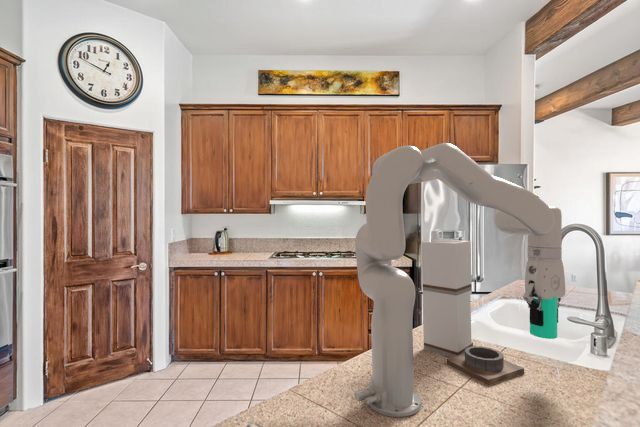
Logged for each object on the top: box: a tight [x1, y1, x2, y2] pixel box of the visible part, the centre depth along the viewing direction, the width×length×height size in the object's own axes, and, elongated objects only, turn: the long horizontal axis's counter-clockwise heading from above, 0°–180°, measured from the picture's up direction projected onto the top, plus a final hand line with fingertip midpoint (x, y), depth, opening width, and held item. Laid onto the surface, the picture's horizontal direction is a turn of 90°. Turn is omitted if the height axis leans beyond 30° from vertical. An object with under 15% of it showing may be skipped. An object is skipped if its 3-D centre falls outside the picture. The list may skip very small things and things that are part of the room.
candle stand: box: [446, 345, 525, 386], centre depth 95 cm, size 14×14×4 cm
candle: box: [529, 295, 558, 340], centre depth 88 cm, size 6×6×12 cm
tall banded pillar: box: [420, 239, 474, 358], centre depth 109 cm, size 11×11×35 cm
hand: (543, 322), depth 88 cm, fingers closed on candle, 5 cm apart
